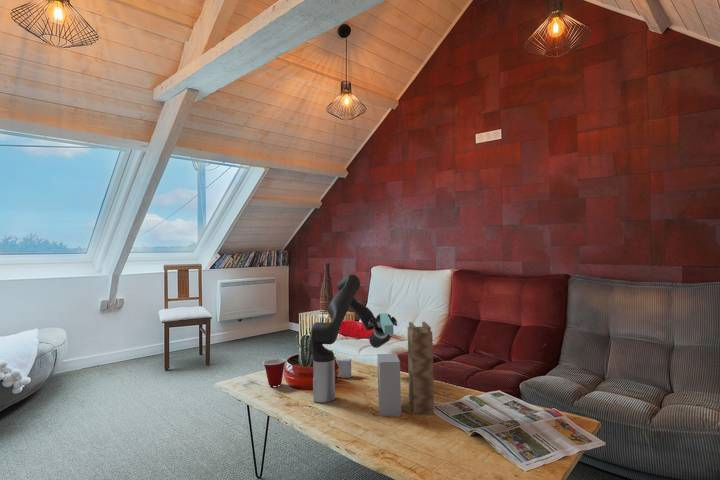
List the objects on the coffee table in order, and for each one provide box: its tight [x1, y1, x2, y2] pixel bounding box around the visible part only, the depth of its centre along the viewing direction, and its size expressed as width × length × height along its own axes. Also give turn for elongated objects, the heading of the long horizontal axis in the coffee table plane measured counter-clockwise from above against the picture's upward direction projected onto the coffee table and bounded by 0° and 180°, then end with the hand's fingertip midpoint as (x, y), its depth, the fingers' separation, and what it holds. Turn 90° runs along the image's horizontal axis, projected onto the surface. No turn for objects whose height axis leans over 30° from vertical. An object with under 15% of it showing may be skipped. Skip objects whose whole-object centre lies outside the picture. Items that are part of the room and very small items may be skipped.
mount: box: [407, 321, 435, 416], centre depth 170 cm, size 8×12×34 cm, turn 2°
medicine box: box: [336, 358, 352, 379], centre depth 212 cm, size 8×4×9 cm, turn 84°
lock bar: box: [378, 312, 395, 335], centre depth 177 cm, size 4×26×4 cm, turn 2°
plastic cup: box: [262, 358, 287, 386], centre depth 201 cm, size 11×11×12 cm
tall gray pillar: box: [376, 353, 402, 417], centre depth 169 cm, size 8×12×21 cm, turn 2°
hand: (384, 316), depth 185 cm, fingers closed on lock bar, 3 cm apart
